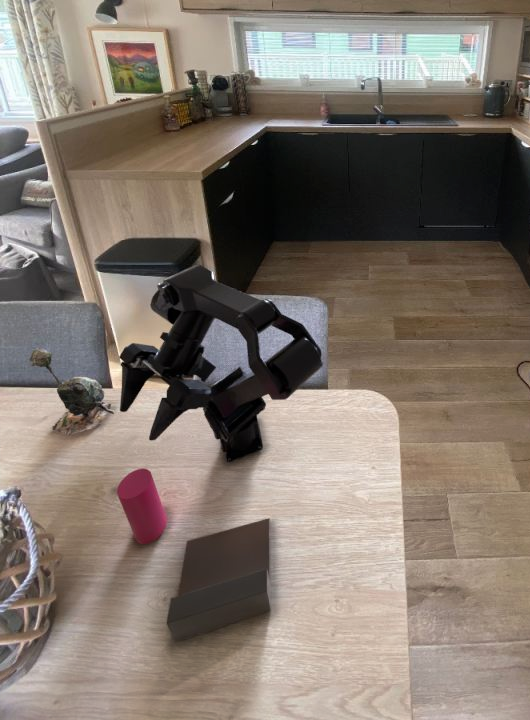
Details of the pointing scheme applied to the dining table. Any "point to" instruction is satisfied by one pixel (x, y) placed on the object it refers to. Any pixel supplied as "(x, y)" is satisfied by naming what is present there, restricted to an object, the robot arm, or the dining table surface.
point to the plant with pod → (76, 399)
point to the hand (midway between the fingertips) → (136, 425)
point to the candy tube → (142, 505)
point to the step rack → (222, 580)
